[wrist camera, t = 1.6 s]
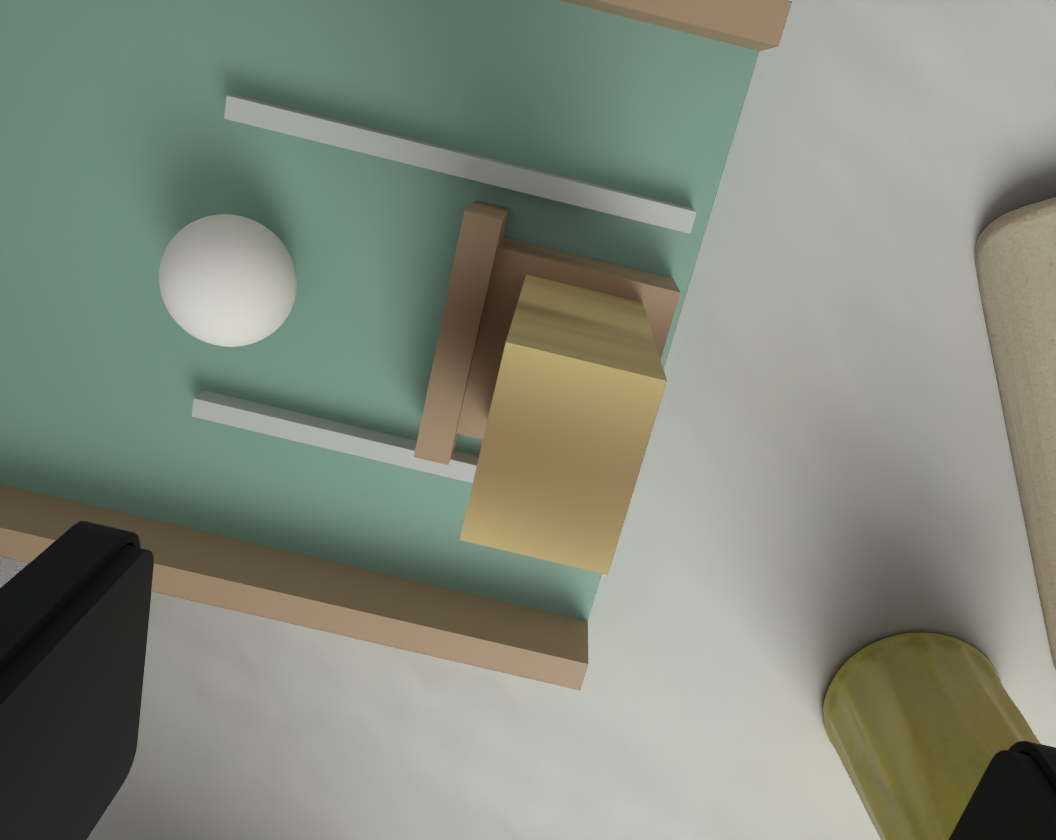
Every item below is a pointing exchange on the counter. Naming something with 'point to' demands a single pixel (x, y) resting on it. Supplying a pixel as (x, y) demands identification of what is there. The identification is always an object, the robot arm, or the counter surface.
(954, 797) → the vase
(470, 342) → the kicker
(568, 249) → the pitch
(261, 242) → the ball
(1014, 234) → the wooden puzzle
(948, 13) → the counter surface
